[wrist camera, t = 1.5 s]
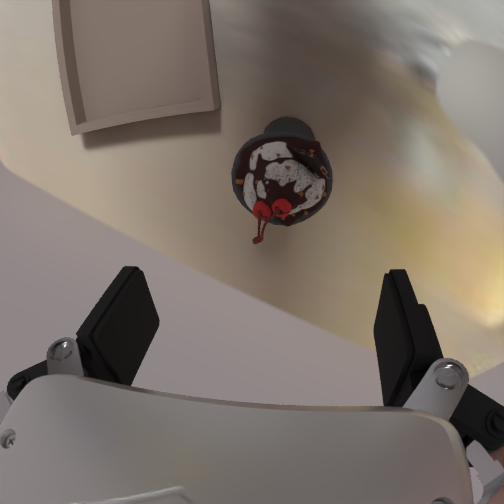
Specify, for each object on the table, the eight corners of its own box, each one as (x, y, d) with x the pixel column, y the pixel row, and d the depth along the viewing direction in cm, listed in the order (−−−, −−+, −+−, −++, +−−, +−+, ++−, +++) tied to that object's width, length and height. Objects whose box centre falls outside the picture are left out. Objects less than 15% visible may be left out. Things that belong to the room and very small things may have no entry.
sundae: (256, 176, 31) (222, 266, 19) (250, 110, 28) (204, 156, 15) (323, 176, 30) (336, 268, 18) (322, 108, 27) (341, 152, 14)
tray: (65, -26, 20) (51, -28, 18) (201, -76, 17) (193, -84, 15) (84, 129, 31) (71, 135, 29) (221, 106, 28) (214, 110, 26)
